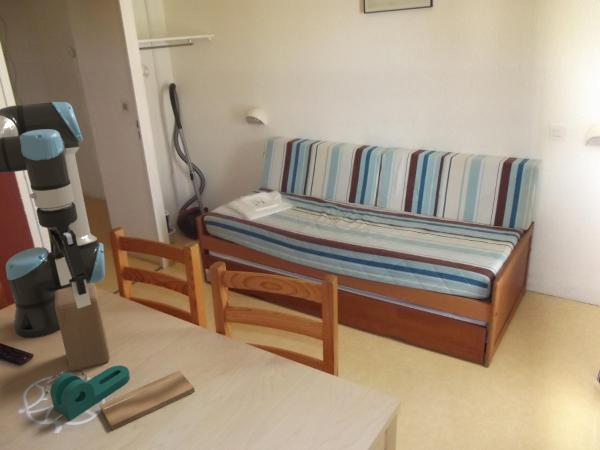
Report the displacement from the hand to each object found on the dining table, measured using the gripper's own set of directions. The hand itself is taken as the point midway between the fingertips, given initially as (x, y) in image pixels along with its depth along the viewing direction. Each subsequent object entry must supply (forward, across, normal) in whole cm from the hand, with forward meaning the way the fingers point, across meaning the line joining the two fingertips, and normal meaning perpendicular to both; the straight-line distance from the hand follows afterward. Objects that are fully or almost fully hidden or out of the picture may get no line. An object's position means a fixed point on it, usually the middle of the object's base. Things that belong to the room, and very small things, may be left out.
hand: (75, 294), depth 116 cm
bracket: (+28, 0, 0) cm, 28 cm away
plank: (+28, +10, +9) cm, 31 cm away
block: (+28, -16, +3) cm, 32 cm away
